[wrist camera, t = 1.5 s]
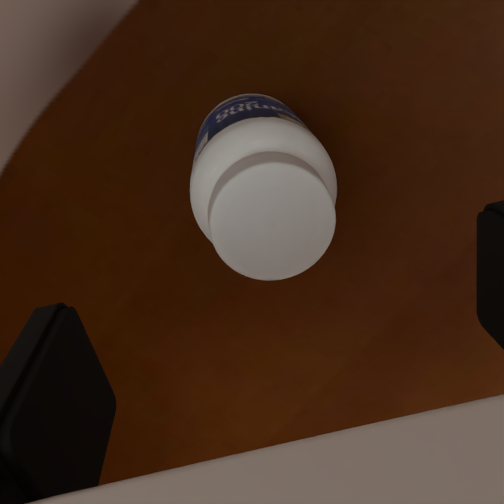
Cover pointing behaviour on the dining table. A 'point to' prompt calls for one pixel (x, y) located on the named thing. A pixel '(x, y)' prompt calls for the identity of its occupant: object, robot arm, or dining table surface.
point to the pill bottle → (263, 188)
